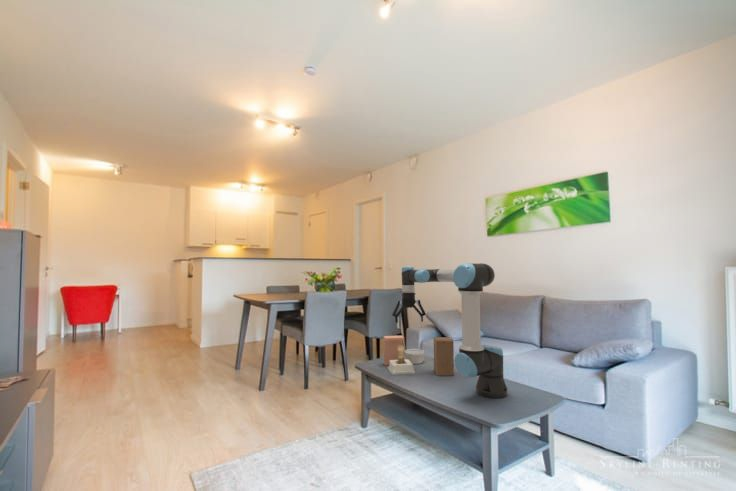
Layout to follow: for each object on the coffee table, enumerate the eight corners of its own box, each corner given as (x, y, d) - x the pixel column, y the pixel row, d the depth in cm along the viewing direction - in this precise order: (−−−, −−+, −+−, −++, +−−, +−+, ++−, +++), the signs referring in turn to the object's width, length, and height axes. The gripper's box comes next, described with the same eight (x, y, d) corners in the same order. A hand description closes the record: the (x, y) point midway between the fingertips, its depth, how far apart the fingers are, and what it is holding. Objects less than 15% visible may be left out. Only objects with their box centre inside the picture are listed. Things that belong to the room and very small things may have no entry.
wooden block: (454, 375, 207) (453, 340, 208) (436, 375, 207) (436, 340, 208) (450, 370, 217) (450, 337, 218) (433, 370, 217) (433, 337, 218)
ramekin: (400, 360, 240) (400, 350, 240) (417, 358, 245) (417, 348, 245) (411, 365, 228) (411, 354, 228) (428, 363, 233) (428, 352, 233)
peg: (405, 369, 215) (404, 346, 216) (398, 370, 215) (398, 346, 215) (403, 367, 219) (403, 344, 220) (397, 368, 219) (396, 344, 219)
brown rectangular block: (404, 366, 225) (404, 337, 226) (385, 367, 224) (385, 338, 225) (402, 363, 232) (401, 335, 233) (383, 364, 231) (383, 336, 232)
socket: (415, 373, 211) (415, 365, 211) (391, 374, 209) (391, 366, 209) (409, 366, 225) (409, 358, 225) (387, 367, 223) (387, 359, 223)
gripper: (426, 291, 222) (427, 325, 220) (386, 292, 218) (387, 327, 217) (430, 291, 214) (431, 327, 213) (389, 293, 211) (390, 329, 210)
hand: (409, 327), depth 215 cm, fingers open, 13 cm apart
